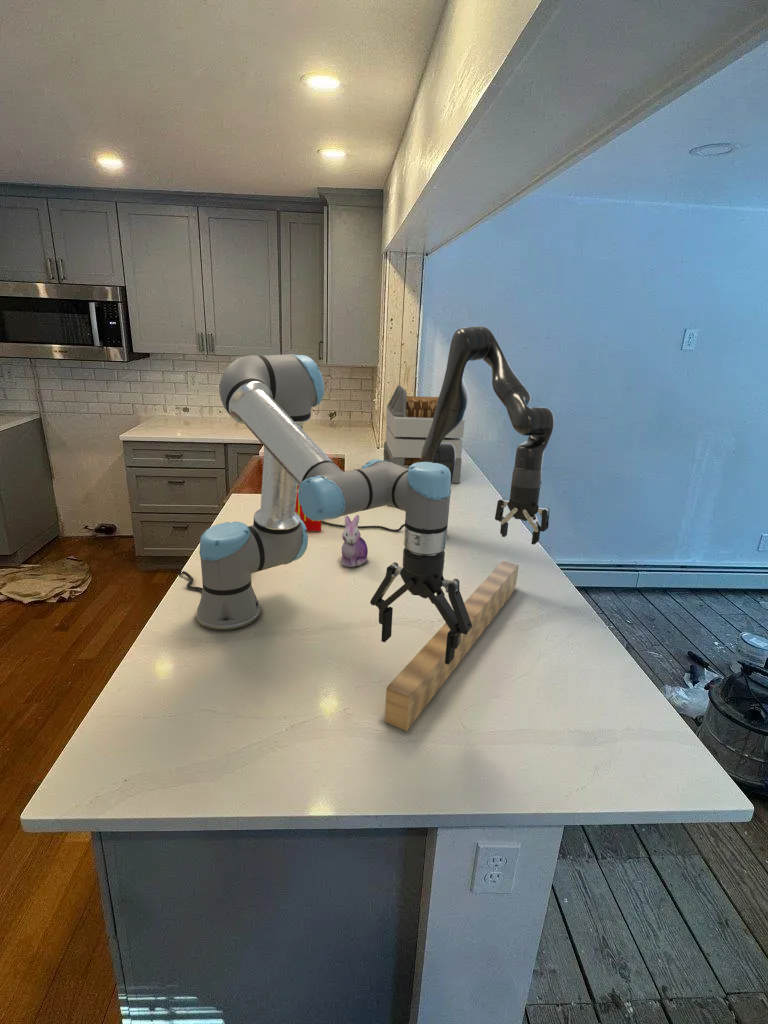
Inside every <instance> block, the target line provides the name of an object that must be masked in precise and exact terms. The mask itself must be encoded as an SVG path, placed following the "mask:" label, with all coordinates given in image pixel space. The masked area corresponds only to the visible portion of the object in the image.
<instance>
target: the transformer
mask: <svg viewBox="0 0 768 1024" xmlns="http://www.w3.org/2000/svg"><path fill="white" fill-rule="evenodd" d="M407 394H408V393H407V390H406V389H404V388H403V387H402V385H399V384H398V385H397V386H396V388H395V390H394V392H393V394H392V395H391V398H390V400H389V402H388V404H387V405H386V413H385V414H386V415H385V423H386V428H385V438H384V442H383V461H384V460H385V461H389V462H392V463H394V464H396V465H399V466H402V467H405V466H406V467H407V466H409V467H410V466H411V465H412V464H414V463H418V462H421V453H422V449H423V446H424V443H425V441H426V438H427V436H428V433H429V431H430V428H431V425H432V421H433V418H434V414H435V410H436V405H437V402H438V398H439V396H415V395H414V396H413V395H412V396H411V395H407ZM464 429H465V419H464V418H463V420H462V421H461V422H460V424H459V425H458V426H457V427H456V428H454V429H453V430H452V431H451V432H450V433H449V434H448V435H447V436H446V437H445V438H444V439H443V440H442V442H441V443H450V444H452V445H453V446H454V448H455V453H456V459H455V467H454V474H453V482H452V484H455V483H456V484H459V483H461V472H462V461H463V460H462V453H463V442H464V441H463V440H462V439H463V438H464V431H465V430H464Z"/></svg>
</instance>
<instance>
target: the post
mask: <svg viewBox="0 0 768 1024" xmlns="http://www.w3.org/2000/svg"><path fill="white" fill-rule="evenodd" d="M519 566H520V565H519V564H518V563H515V562H511V561H506V560H502V561H501V562H500V563H499V564H498V565H497V566H496V567H495V568H494V569H493V571H492V572H491V573H489V574H488V576H487V577H486V578H485V579H484V580H483V582H482V583H480V585H478V587H477V588H476V589H475V590H474V591H473V593H472V594H471V595H470V596H469V597H468V598H467V599H466V600H465V601H463V602H464V604H465V607H466V610H467V612H468V615H469V618H470V621H471V623H472V628H471V629H470V631H469V632H468V633H467V634H466V635H465V634H463V633H461V642H460V645H459V646H458V647H457V649H455V654H454V658H453V660H452V661H451V662H450V663H449V665H448V664H445V655H446V645H447V634H448V632H449V631H450V628H449V627H448V625H447V624H446V622H445V623H444V624H443V625H442V627H440V629H439V630H438V631H437V632H436V633H435V634H434V635H433V636H432V637H431V638H430V639H429V641H428V642H427V643H426V644H424V646H423V647H422V648H421V649H420V650H419V651H418V652H417V653H416V654H415V656H414V657H413V658H412V659H411V660H410V661H409V662H408V664H406V666H404V668H403V669H402V670H401V671H400V672H399V673H398V674H397V675H396V677H395V678H393V680H391V682H390V683H389V684H388V685H387V686H386V691H385V692H386V693H385V708H384V709H385V710H384V711H385V712H384V723H386V724H388V725H391V726H394V727H396V728H398V729H400V730H403V731H406V732H407V731H408V730H409V729H410V727H411V726H412V725H413V724H414V722H415V721H416V720H417V718H418V717H419V716H420V715H421V713H422V712H423V710H424V709H425V708H426V707H427V705H428V704H429V702H430V701H431V700H432V699H433V698H434V696H435V695H436V693H437V692H438V691H439V690H440V688H441V687H442V686H443V685H444V683H445V682H446V680H447V679H448V678H449V677H450V675H451V674H452V673H453V672H454V670H455V669H456V668H457V666H458V665H459V664H460V662H461V661H462V660H463V658H464V657H465V656H466V655H467V653H468V652H469V651H470V649H471V648H472V647H473V645H474V644H475V643H476V642H477V640H478V639H479V638H480V636H481V635H482V634H483V632H484V631H485V630H486V628H487V627H488V626H489V625H490V623H491V622H492V621H493V619H494V618H495V617H496V616H497V614H498V613H499V612H500V611H501V609H502V608H503V607H504V605H506V602H508V600H509V599H510V597H511V596H512V595H513V593H514V592H515V591H516V589H517V582H518V575H519V574H518V573H519Z"/></svg>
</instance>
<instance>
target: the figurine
mask: <svg viewBox="0 0 768 1024" xmlns="http://www.w3.org/2000/svg"><path fill="white" fill-rule="evenodd" d="M359 523H360V515H359V514H356V515H355V516H354V517H353V519H352V521H351V519H350V517H349V515H345V516H344V525H345V528H344V529H343V531H342V534H341V538H342V539H343V543H342V545H341V559H340V561H341V565H342V566H344V567H348V568H354V567H357V566H358V567H359V566H362V565H363V564H365V563H366V562H367V559H368V553H369V549H368V545H367V542H366V541H365V540H364V538H363V537H361V532H360V530H359V528H358V527H357V526H359Z"/></svg>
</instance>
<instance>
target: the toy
mask: <svg viewBox="0 0 768 1024" xmlns="http://www.w3.org/2000/svg"><path fill="white" fill-rule="evenodd" d="M295 512H296V513H298V514H299V516H300V519H301V520H302V521H303V522H304V524H305V526H306V529H307V530H306V532H322V523H321V521H322V520H320V521H314V520H311V519H309V518H308V517H307V516H306V515H305V514H304V513H303V511H302V506H301V505H300V504H299V499H298V492H297V497H296V507H295Z"/></svg>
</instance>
